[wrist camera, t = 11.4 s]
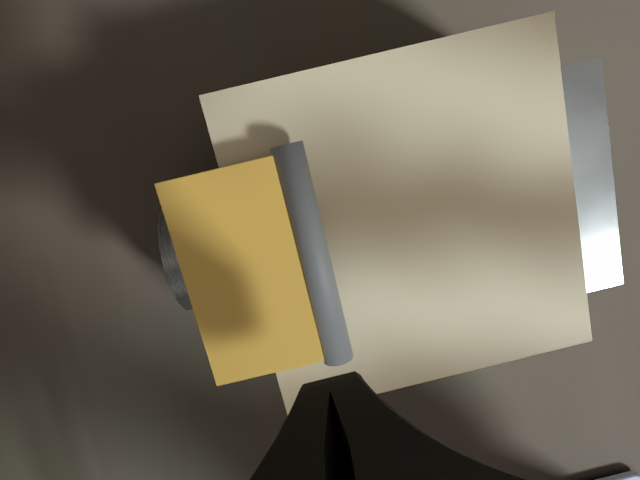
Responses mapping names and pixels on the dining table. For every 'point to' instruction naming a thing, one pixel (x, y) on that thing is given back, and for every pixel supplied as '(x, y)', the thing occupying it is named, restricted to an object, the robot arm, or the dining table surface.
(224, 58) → the dining table surface
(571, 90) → the silver metal piece
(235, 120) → the block
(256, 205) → the keeper flap
